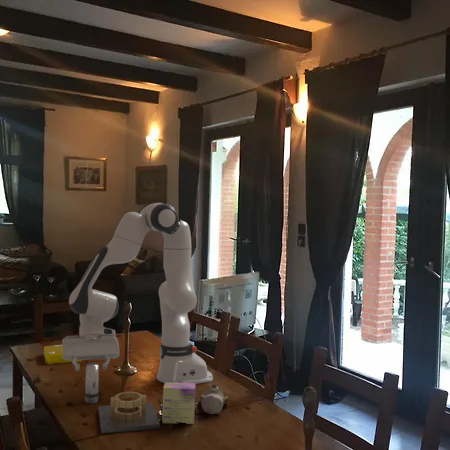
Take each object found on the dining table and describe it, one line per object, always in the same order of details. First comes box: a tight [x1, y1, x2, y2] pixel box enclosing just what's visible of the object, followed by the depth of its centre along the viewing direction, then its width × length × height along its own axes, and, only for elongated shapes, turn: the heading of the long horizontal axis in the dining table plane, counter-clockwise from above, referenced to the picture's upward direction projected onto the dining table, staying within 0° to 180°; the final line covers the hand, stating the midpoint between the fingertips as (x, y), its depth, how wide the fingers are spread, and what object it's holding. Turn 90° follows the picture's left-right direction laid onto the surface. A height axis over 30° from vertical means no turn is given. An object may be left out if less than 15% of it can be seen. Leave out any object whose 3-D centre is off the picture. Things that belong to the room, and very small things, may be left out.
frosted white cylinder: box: [84, 362, 100, 404], centre depth 189 cm, size 5×5×13 cm
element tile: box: [43, 344, 82, 365], centre depth 236 cm, size 15×15×5 cm
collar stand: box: [98, 391, 161, 434], centre depth 174 cm, size 18×18×8 cm
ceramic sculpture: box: [199, 384, 230, 415], centre depth 186 cm, size 11×9×15 cm
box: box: [161, 382, 196, 425], centre depth 175 cm, size 10×6×12 cm, turn 92°
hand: (91, 369), depth 191 cm, fingers open, 8 cm apart
